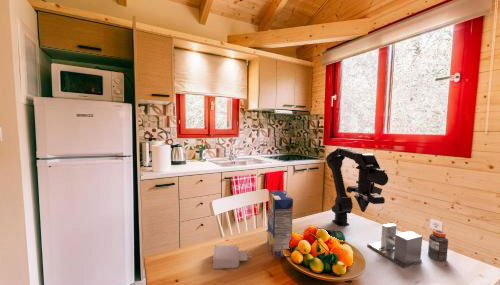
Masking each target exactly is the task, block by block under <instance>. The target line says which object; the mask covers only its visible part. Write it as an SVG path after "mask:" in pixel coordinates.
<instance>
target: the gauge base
mask: <svg viewBox="0 0 500 285" xmlns="http://www.w3.org/2000/svg"><path fill="white" fill-rule="evenodd" d="M422 244H423V235H421V234H419V233H416V232H414V231H411V230H408V231H405V232H400V233H396V236H395V247H393V248H390V249H386V250H385V249H381V250H379V249H378V248H381V240H378V241H374V242H370V243H367V247H369V248H370V249H372V250H373V251H375V252H377V253H378V254H379V255H381V256H383V257H385V258H386V259H388V260H389V261H392V262H393V263H394V264H396V265H397V266H400V267H401V268H403V269H404V268H407V267H410V266H414V265H417V264H420V263H422V262H423V259H422V258H421V257H422V256H421V255H422V247H423V246H422Z"/></svg>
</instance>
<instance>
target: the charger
mask: <svg viewBox="0 0 500 285" xmlns="http://www.w3.org/2000/svg"><path fill="white" fill-rule="evenodd" d="M248 258H253V253H251V252H247V250H240V248H239V246H238V245H237V244H229V245H227V244H226V245H221V244H220V245H214V248H213V259H212V261H213V263H212V265H213V266H212V268H213V270H219V269H220V270H222V269H238V267H239V266H240V262H245V261H246V262H247V261H248Z"/></svg>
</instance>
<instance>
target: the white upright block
mask: <svg viewBox="0 0 500 285" xmlns="http://www.w3.org/2000/svg"><path fill="white" fill-rule="evenodd" d="M396 234H397V224H395V223H393V222H391V223H386V224H382V226H381V239H380V241H381V248H378V249H379V250H381V249H385V250H386V249H390V248H393V247H395V236H396Z"/></svg>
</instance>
